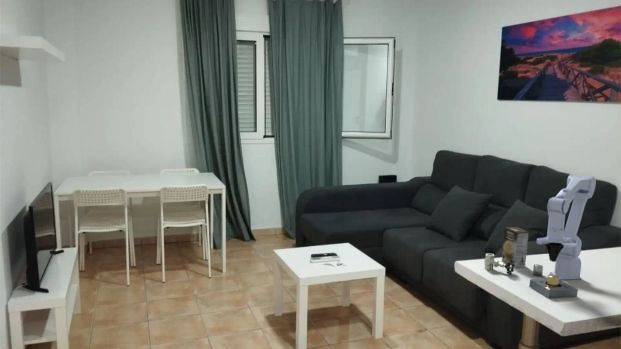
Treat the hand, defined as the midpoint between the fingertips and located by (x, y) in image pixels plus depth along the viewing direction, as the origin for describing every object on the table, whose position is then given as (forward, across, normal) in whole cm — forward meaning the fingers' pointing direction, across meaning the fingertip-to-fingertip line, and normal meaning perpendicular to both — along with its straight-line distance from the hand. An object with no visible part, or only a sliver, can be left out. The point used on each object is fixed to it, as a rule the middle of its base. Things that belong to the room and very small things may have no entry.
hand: (552, 260), depth 202 cm
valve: (+10, -13, +18) cm, 24 cm away
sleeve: (+10, +2, +11) cm, 15 cm away
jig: (+10, -4, -7) cm, 13 cm away
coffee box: (+10, 0, +26) cm, 28 cm away
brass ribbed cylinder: (+10, -4, -7) cm, 13 cm away
